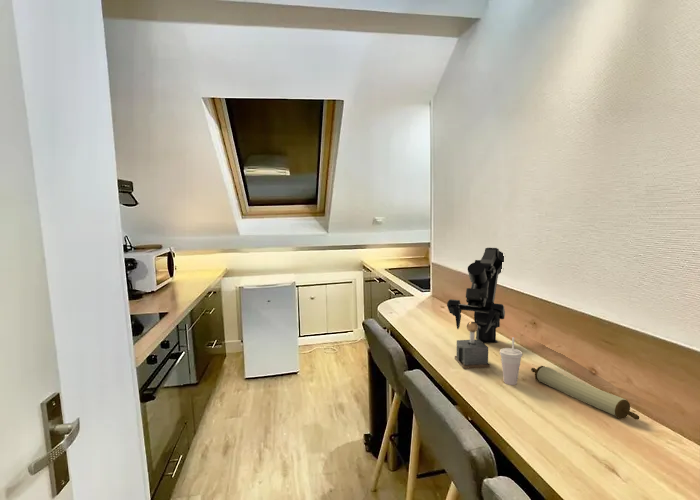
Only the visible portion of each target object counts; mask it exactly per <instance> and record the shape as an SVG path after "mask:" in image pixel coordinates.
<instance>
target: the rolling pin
mask: <svg viewBox="0 0 700 500" xmlns="http://www.w3.org/2000/svg"><path fill="white" fill-rule="evenodd" d="M530 371H531V372H532V373H534V378H535V380H536V381H537V382H538V383H543V384H545V385H546V386H548V387H551V388H553V389H555V390H557V391H559V392H562V393H564V394H566V395H568V396H571V397H573V399H576V400H579V401H581V402H583V403H585V404H588V405H590V406H591V407H594V408H596V409H598V410H601V411H604V412H606V413H608V414H610V415H613V416H615V417H616V418H617V419H618V420H623V419H625V418H627V417H628V416H629V417H631V418H632V419H634V420H636V421H639V420H640V415H638V414H637V413H635V412H632V411H631V404H630V402H629V401H628V400H627V399H626V398H623V397H621V396H618V395H615V394H612V393H610V392H608V391H604V390H602V389H599V388H597V387H594V386H592V385H590V384H586V383H584V382H582V381H579V380H576V379H575V378H571V377H569V376H568V375H565V374H563V373H561V372H558V371H557V370H555V369H554V368H552V367H549V366H544V365H540V366H538V367H537V368H535V367H531V369H530Z"/></svg>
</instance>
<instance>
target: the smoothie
mask: <svg viewBox="0 0 700 500" xmlns="http://www.w3.org/2000/svg"><path fill="white" fill-rule="evenodd" d="M511 338H512V339H511V347H504V348H500V350H499V355H500V357H501V359H500V361H501V368H502V369H501V370H502V378H503V379H502V380H503V383H504V384H506V385H510V386H515V385H517V384H518V379H519V378H518V377H519V372H520V366H521V360H522V357H523V352H522V351H521V350H520V349H518V348H515V336H514V337H511Z"/></svg>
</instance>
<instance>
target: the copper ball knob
mask: <svg viewBox="0 0 700 500" xmlns="http://www.w3.org/2000/svg"><path fill="white" fill-rule="evenodd" d="M477 329H478V325H477V324H476V323H475V322H474V321H469V322H468V323H467V324H466V330H467V331H468V332H469V340H470V345H474V340H475V339H476V334H475V333H476V331H477Z"/></svg>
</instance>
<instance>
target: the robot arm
mask: <svg viewBox="0 0 700 500" xmlns="http://www.w3.org/2000/svg"><path fill="white" fill-rule="evenodd" d="M503 253H504V252H502V251H501V250H500V249H499V248H497V247H486V248H485V249H484V251H483V255H482V257H481V259H475V260H474V262H472V263H470V264H469V265H468V266H467V273H468V276H469V281H470V282H471V286H470V287H466V291H465V298H466V300H465V301H466V303H467V304H465V303H461V301H460V299H451V298H450V299H449V300H447V302H446V303H447V304H446V307H447V309H448V312H449V314H451V315H452V316H454V317H455V323H456V324H455V325H456V329H457V330H459V329H460V325H461V320H462V314H461V313H462V311H468V312H469V311H470V312H474V313H473V317H474V318H473V322H475V323H476V324H477V326H478V329H477V331H476V332H475V333H476V334H475V340H478V339H479V340H480V341H482V342H483V343H484V344H495V343H498V342H499V341H498V340H497V338H496V336H497V328H500V327H501V320H504V319H505V316H506V311H505V310H506V309H505V306H504V304H503V303H495V299H496V291H497V285H498V284H497V283H498V278H499V275H500V274H501V273H502V272H501V269H502V262H504V256H503Z"/></svg>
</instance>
